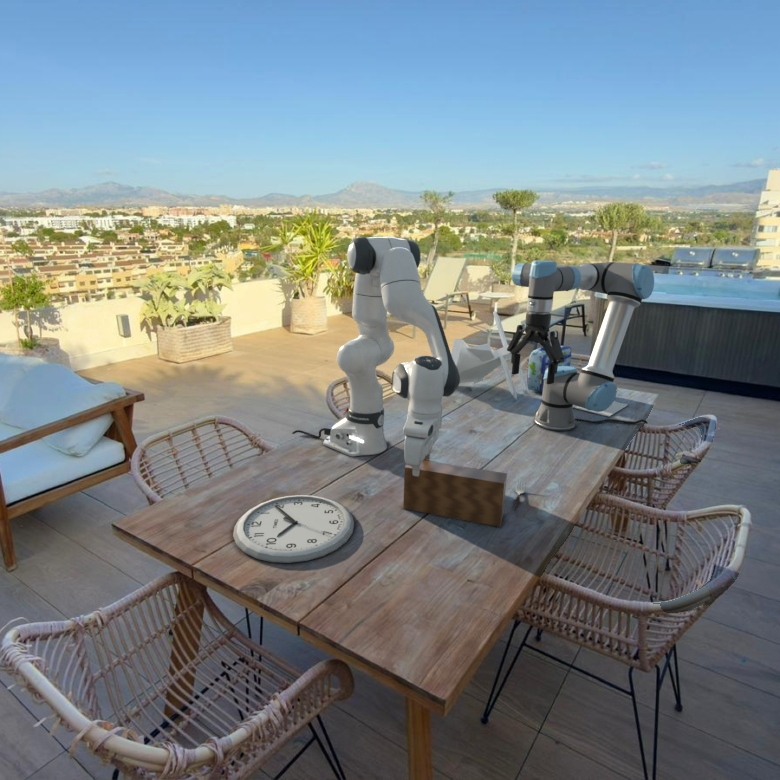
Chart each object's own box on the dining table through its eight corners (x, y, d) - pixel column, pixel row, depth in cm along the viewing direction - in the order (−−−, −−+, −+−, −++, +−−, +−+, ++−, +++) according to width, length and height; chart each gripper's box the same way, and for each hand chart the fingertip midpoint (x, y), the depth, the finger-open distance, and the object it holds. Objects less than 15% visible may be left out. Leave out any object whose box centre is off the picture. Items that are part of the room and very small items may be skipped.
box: (503, 515, 139) (507, 473, 136) (500, 527, 134) (504, 483, 130) (409, 498, 147) (410, 458, 143) (403, 508, 142) (404, 467, 138)
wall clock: (355, 554, 119) (220, 559, 116) (355, 560, 119) (221, 565, 117) (353, 490, 147) (244, 493, 145) (353, 495, 148) (245, 498, 145)
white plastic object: (461, 429, 252) (437, 405, 227) (444, 352, 274) (420, 323, 250) (535, 404, 240) (518, 377, 215) (510, 326, 262) (492, 293, 237)
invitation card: (608, 416, 214) (573, 407, 224) (608, 416, 214) (573, 408, 224) (628, 404, 229) (594, 396, 238) (628, 405, 229) (594, 397, 238)
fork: (509, 511, 141) (510, 504, 140) (517, 485, 155) (517, 479, 155) (519, 513, 140) (520, 506, 139) (526, 487, 154) (526, 481, 154)
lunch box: (543, 396, 238) (548, 352, 231) (522, 391, 245) (526, 347, 239) (570, 385, 255) (575, 343, 249) (550, 381, 262) (555, 340, 256)
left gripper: (423, 405, 146) (420, 450, 150) (400, 430, 127) (398, 481, 132) (445, 408, 144) (442, 454, 148) (425, 435, 125) (422, 486, 130)
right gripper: (499, 308, 168) (494, 371, 174) (567, 319, 149) (558, 390, 156) (514, 306, 173) (509, 368, 179) (581, 316, 154) (573, 385, 160)
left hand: (421, 467), depth 140 cm, fingers open, 8 cm apart
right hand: (532, 378), depth 167 cm, fingers open, 13 cm apart
